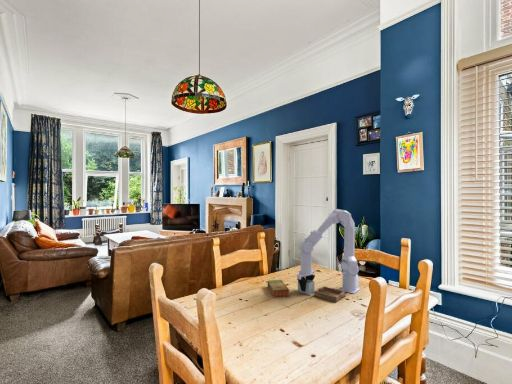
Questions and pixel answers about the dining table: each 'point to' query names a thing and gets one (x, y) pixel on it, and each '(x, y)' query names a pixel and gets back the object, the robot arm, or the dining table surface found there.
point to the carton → (278, 288)
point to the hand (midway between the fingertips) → (306, 289)
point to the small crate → (307, 288)
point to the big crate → (329, 294)
